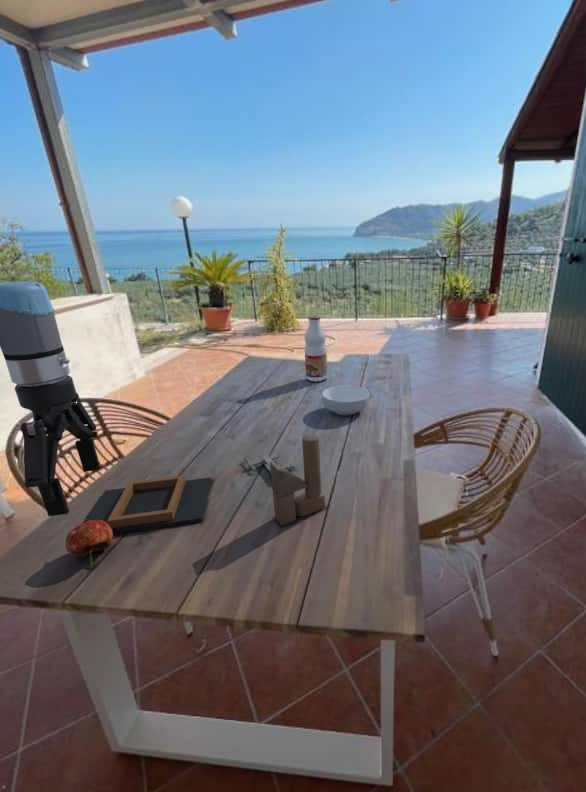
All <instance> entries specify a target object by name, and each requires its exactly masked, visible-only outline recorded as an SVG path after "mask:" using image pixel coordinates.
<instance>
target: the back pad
mask: <svg viewBox="0 0 586 792" xmlns="http://www.w3.org/2000/svg"><path fill="white" fill-rule="evenodd" d="M211 483H212V477H203V478H202V477H201V478H194V479H186V477H185V475H175V476H167V477H158V478H152V479H141V480H134V481H129V482H128V483H127V484H126V486H125V487H121V488H115V489H105V490H104V492H103V493H102V494H101V496H100V498H99V500H98V501H97V503H96V504H95V506H94V507H93V509H92V510H91V512H90V514H89V518H90V520H92V521H94V520H102V521H105V522H106V523H107V524H108V525H109V526H110V527H111V528H112V531H113V536H114V535H121V534H126V533H128V534H129V533H134V532H135V533H136V532H141V531H149V530H155V529H162V528H169V527H175V526H183V525H189V524H196V523H202V522H203V519H204V514H205V510H206V506H207V500H208V496H209V492H210V488H211ZM85 522H86V520H85V521H84V523H85Z"/></svg>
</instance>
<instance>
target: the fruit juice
mask: <svg viewBox="0 0 586 792" xmlns="http://www.w3.org/2000/svg"><path fill="white" fill-rule="evenodd" d="M307 319H308V327H307V330H306V332H305V333H304V336H303V337H304V338H303V339H304V343H305V346H304V365H305V377H306V376H307V377H310V378H319V377H324V376H326V375H327V376H328V359H327V355H328V354H327V346H326V339H327V338H326V333H325V331H323V329H322V326H321V322H320V321H321V316H320V315H309V316H307Z"/></svg>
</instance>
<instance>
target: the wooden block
mask: <svg viewBox="0 0 586 792" xmlns="http://www.w3.org/2000/svg"><path fill="white" fill-rule="evenodd" d="M301 442H302V443H301V444H302V459H303V475H304V476H303V477H304V479H302V478H301V477H299V476H298V475H296V474H294V473H292V472H291V471H290V470H285V469H283V468H282V467H283V466H280V465H278V464H277V463H275V462H274V461H273V462H274V463H275V464H274V463H273V462H270V468H271V473H270V479H271V490H272V497H273V498H272V499H273V509H274V510H273V511H274V517H275V520H276V521H277V522H278V523H279V525H280V526H285V525H287V524H290V523H292V522H295V521H296V520H297V517H306V516H308V515H311V514H313V513H316V512H318V511H320V510H323V509H325V503H326V502H325V494H324V493H323V492H322V479H321V478H322V477H321V476H322V475H321V454H320V453H321V452H320V436H319V435H317V434H316V433H307V434H305V435H303V436H302V438H301ZM301 490H304V492H302V493H299V494H297V495H295V493H297V492H299V491H301Z"/></svg>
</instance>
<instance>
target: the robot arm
mask: <svg viewBox="0 0 586 792" xmlns="http://www.w3.org/2000/svg"><path fill="white" fill-rule="evenodd" d="M55 313H56V312H55V308H54V306H53V304H52V301H51V298H50V296H49V293H48V291H47V288H46V286H45V285H44V284H42V283H41V282H38V281H36V280H35V281H33V280H19V281H0V350H1V352H2V355H3V358H4V361H5V364H6V368H7V371H8V374H9V378H10V381H11V383H13V384H15V387H14V391H15V395H16V397H17V400H18V403H19V406H20V407H21V408H23V409H25V410H29V411H31V412H32V421H29V422H27V421H26V422H22V423H21V424H20V430H21V433H22V437H23V463H24V469H23V470H24V487H25V488H27V489H28V488H36V487H37V488H38V491H39V493H40V497H41V500H42V502H43V504H44V507H45V510H46V514H47V516H48V517H55V516H62V515H63V516H64V515H68V514H69V512H70V509H69V505H68V503H67V499H66V496H65V493H64V490H63V486H62V483H61V481H60V478H59V477H56V469H57V460H58V459H57V458H58V449H59V442H60V441H61V440H62V439H63V434H64V432H65V431H67V432H68V433H69V434H71V435H72V436H73V437H74V438H76V439H77V440H76V441H74V443H75V447H76V450H77V453H78V457H79V461H80V464H81V467H82V471H83V473H86V472H95V471H100V470H101V464H100V461H99V458H98V454H97V450H96V447H95V442H94V439H95V438H98V436H99V433H98V431H96V430H97V425H96V423H95V422H94V421H93V419H92V417H91V416H90V414H89V413H88V411H87V410H86V408H85V406H84V405H83V403H82V402H81V399H80V396H79V393H78V392H77V389H76V387H75V383H74V380H73V377H72V376H70V375H69V374H70V373H71V370H70V367H69V363H71V362H70V359H69V358H68V357H67V356H66V352H65V348H64V345H63V342H62V338H61V335H60V331H59V328H58V327H59V326H58V322H57V319H56V315H55Z"/></svg>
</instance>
